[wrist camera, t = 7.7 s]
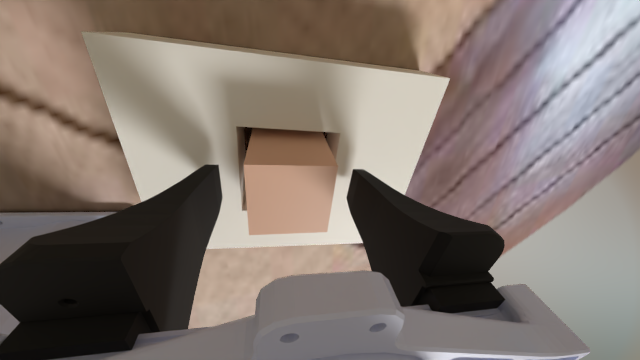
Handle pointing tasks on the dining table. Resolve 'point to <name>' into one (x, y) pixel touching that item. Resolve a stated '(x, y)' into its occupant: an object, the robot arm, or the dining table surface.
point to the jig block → (258, 119)
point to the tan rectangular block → (288, 181)
